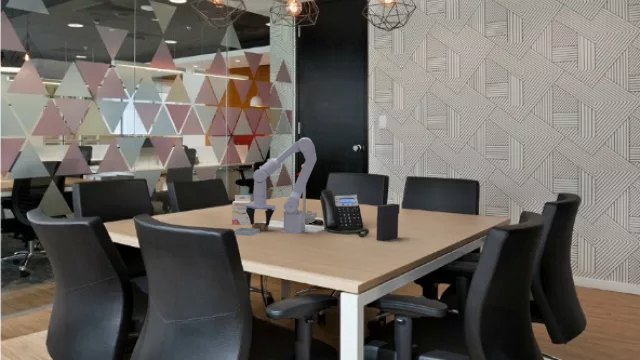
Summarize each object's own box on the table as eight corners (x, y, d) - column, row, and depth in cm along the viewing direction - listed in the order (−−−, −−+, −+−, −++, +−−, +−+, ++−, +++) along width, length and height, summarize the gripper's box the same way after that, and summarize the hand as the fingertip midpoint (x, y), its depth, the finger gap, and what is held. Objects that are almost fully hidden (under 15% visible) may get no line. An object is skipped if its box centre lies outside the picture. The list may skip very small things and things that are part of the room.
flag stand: (305, 219, 297) (305, 162, 295) (321, 222, 288) (322, 164, 285) (286, 222, 288) (286, 163, 286) (302, 225, 279) (303, 164, 276)
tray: (260, 233, 256) (260, 228, 255) (251, 236, 246) (251, 232, 246) (240, 231, 258) (240, 227, 258) (231, 235, 249) (231, 230, 249)
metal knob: (267, 230, 261) (267, 222, 261) (263, 232, 257) (263, 224, 256) (257, 230, 263) (257, 221, 262) (252, 232, 258) (252, 223, 258)
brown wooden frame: (263, 231, 256) (263, 225, 256) (252, 230, 258) (252, 224, 258) (269, 229, 263) (269, 222, 262) (258, 228, 264) (258, 222, 264)
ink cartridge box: (231, 225, 276) (231, 195, 274) (234, 224, 280) (234, 194, 279) (248, 226, 275) (248, 196, 274) (251, 224, 280) (251, 195, 278)
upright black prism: (391, 236, 249) (391, 203, 248) (399, 238, 246) (399, 204, 245) (375, 240, 241) (375, 205, 240) (383, 241, 238) (383, 206, 237)
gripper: (241, 195, 257) (241, 225, 258) (271, 197, 252) (271, 227, 253) (248, 194, 263) (248, 222, 265) (277, 195, 259) (277, 224, 260)
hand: (259, 224), depth 259 cm, fingers open, 7 cm apart
